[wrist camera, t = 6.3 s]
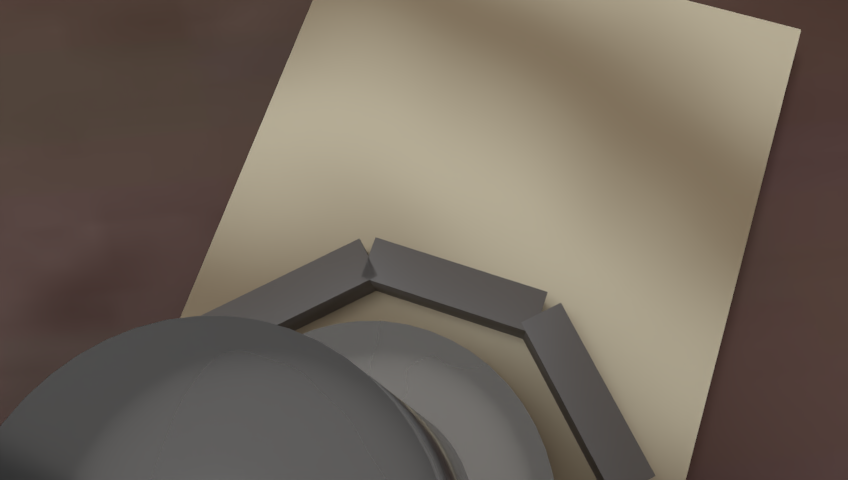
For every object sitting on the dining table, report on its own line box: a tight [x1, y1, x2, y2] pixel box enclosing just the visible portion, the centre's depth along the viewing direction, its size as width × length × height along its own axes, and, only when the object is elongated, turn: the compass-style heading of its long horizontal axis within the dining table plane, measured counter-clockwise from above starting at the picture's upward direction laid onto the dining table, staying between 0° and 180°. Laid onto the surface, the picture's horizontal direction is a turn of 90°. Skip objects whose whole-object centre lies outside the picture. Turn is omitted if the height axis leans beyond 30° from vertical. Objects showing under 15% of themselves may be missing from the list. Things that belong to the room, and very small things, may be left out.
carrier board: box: [180, 0, 801, 480], centre depth 15 cm, size 20×10×3 cm, turn 161°
